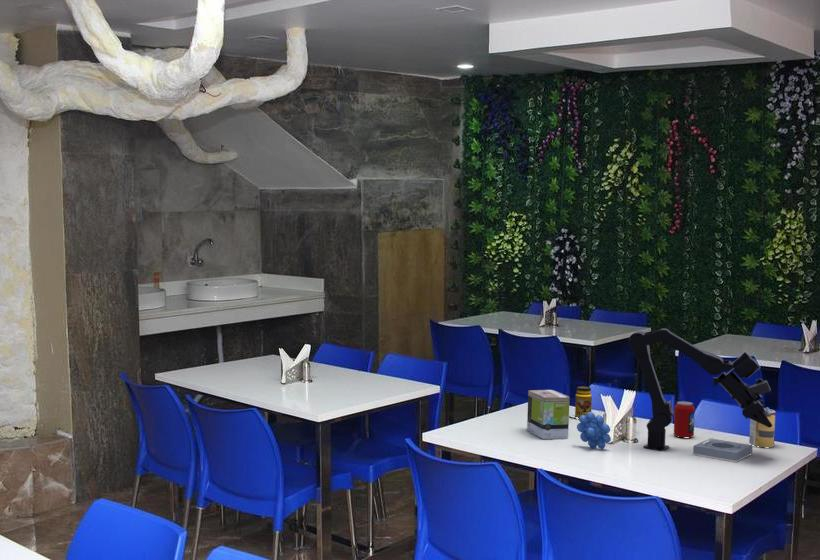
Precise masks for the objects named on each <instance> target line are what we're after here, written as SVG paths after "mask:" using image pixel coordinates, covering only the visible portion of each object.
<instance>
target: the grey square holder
mask: <svg viewBox="0 0 820 560" xmlns="http://www.w3.org/2000/svg"><path fill="white" fill-rule="evenodd" d="M692 451H693V452H692V456H699V457H703V458H704V457H705V458H709V459H716V460H720V461H726V462H732V463H738V462H740V461H742V460H744V459H745V457H746V458H747V456H748V457H749V455H750V454H752V455H753V446H752V445H749V443H748V444H747V443H741V442H737V441H730V440H724V439H717V438H709V439H705V440H703V441H701V442H699V443H697V444H694V445H693V447H692ZM750 456H751V455H750ZM741 459H742V460H741Z"/></svg>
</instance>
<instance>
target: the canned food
mask: <svg viewBox="0 0 820 560" xmlns="http://www.w3.org/2000/svg"><path fill="white" fill-rule="evenodd" d="M764 409H765V411H766V408H764ZM769 413H771V415H773V416H775V417H776V411H775V410H774V409H770V408H769ZM758 426H759V422H757V421H754V420H752V419H750V418H749V439H748V441H749V443H750V444H751V445H754V446H759V445H758ZM774 430H775V431H776V427H775V428H774ZM775 434H776V433H775V432H774V438H775ZM749 443H748V444H749ZM759 447H763V446H759Z"/></svg>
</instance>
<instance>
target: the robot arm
mask: <svg viewBox="0 0 820 560" xmlns="http://www.w3.org/2000/svg"><path fill="white" fill-rule="evenodd" d="M661 342H663V343H665V344H667V345H668V346H670V347H672V348H673V349H675V350H676V351H679V352H680V353H682V354H683V355H685V356H687V357H688V358H690V359H691V360H693V361H694V362H695V363H696V364H698V366H699V367H701V368H702V370H704V371H706V373H707V374H709V375H711V376H713V377H712V380H713V385H712V386H713V387H715V388H716V386H717V385H720V386H721V387H722V388H723V389H724V390H725V391H726V392H727V393H728V394H729V396H730V397H731V399H732V400H734V401H735V402H736V403H737V404H738V405H739V407H740V408H741V410H742V413H741V414H742V416H743V417H744V418H745V419H746V420H747V419H749V420H750V419H752V420H754V421H757V422H759V423H761V424H763V425H765V426H767V427H769V428H770V427H772V424H771V422H770V421H769V419H768V418H767V416H766V415H765V413H764V412H766V411H765V409H766V408H764V399H763V394H767V393H770V392H771V391H772V389H771V387H770V385H769V382H768V380H766V379H765V380H763V379H762V378H758V379H755V383H754V384H753V385H749V384H748V383H745V382H744V381H742V379H749V378H750V377H751V376H752V375H753V374H755V373H756V372H757V371H759V370H760V369H761V368H762V367H761V365H760V363H759V362H758V361H757V360H756V359H755V358H753V357H752V356H751V355H750V354H748V353H747V351H744V352H742V354H741V355H740V356H739V357H738V358H736V359H735V360H734V361H732V360H725V359H723V358H722V357H721V356H720V355H718V354H715V353H712V352H709V351H706V350H703V349H700V348H699V347H697V346H695V345H693V344H692V343H691V342H689V341H687V340H685V339H683V338H682V337H680V336H679V335H677V334H676V333H674V332H672V331H670V330H669V329H668V328H666V327H665V328H664V327H663V328H661V329H658V330H652V331H651V330H650V331H647V332H644V331H641V330H638V331H635V332H633V333H632V334H631V335H629V338H628V346H629V348H630V349H631V351H632V354H633V355H634V356H635V357H636V359H637V360H638V363H639V366H640V369H641V373H642V375H643V378H644V381H645V384H646V387H647V388H646V389H647V391H648V393H649V396H650V401H651V407H652V409H651V410H652V417H651V418H650V419H649V421H648V422H647V424H646V429H647V444H645V445H643V446H642V447H643V448H645V449H650V450H657V451H664V450H666V449H668V448H670V445H666V433H667V432H666V427H668V426H670V425H671V422H672V420H673V419H674V412H675V409H673V406H672V400H668V401H667V399H665V397H664V395H663V392H662V388H661V385H660V381H659V380H658V377H657V373H656V371H655V368H654V365H653V361H652V358H651V348H650V345H654V344H657V343H661ZM717 375H719V376H717ZM715 376H716V377H715ZM761 399H762V400H761Z"/></svg>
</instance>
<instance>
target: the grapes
mask: <svg viewBox="0 0 820 560" xmlns="http://www.w3.org/2000/svg"><path fill="white" fill-rule="evenodd" d="M578 421H579V422H578V423H577V424H576V429H577V431H578V432H579V433H580V435H579V437H580V440H581V441H582V442H584V443H587V445H588V447H589V448H591V449H596V448H597V447H598V448H599V449H602V450H603V449H604V448H605V447H606V443H607V444H608V443H610V442H611V440H612V439H611V436H610V434H609V433H611V427H610V425H609V424H608V423H605V419H604V417H603V416H601V415H600V414H599V415H595V413H594V412H593V411H591V412H588V413H587V417H586V416H585V415H581V416H580V417H579V420H578Z"/></svg>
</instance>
